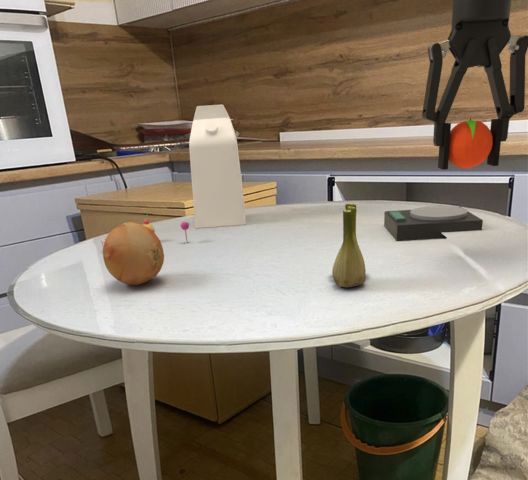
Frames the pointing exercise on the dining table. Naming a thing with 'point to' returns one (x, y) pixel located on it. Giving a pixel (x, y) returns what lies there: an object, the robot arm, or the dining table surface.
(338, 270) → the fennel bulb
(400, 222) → the scale
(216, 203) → the milk
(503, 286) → the dining table surface
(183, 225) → the candy
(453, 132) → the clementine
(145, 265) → the onion
